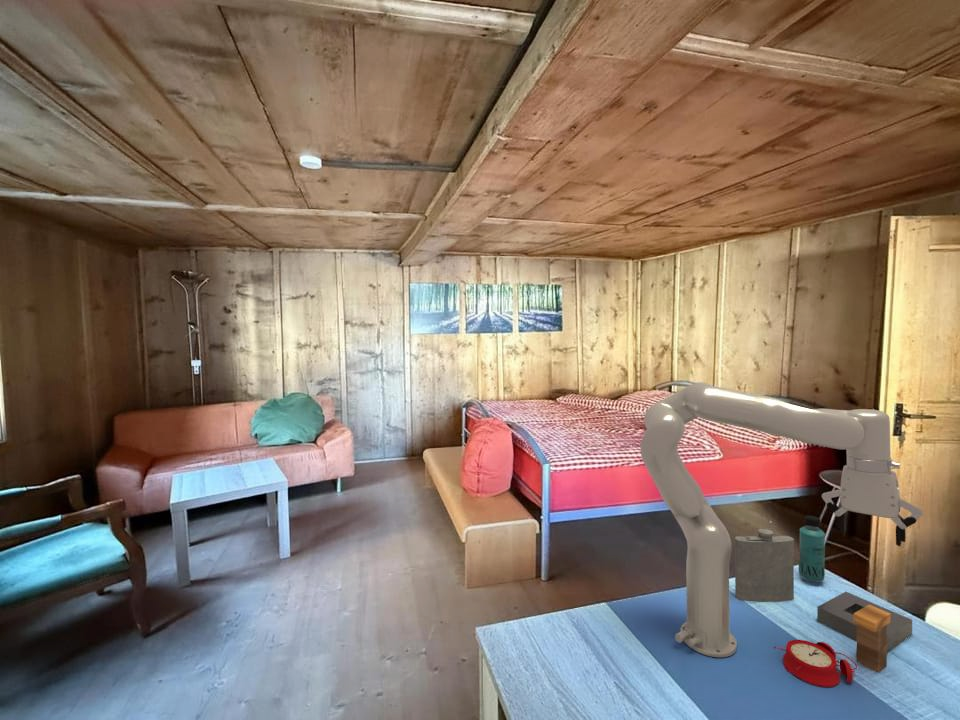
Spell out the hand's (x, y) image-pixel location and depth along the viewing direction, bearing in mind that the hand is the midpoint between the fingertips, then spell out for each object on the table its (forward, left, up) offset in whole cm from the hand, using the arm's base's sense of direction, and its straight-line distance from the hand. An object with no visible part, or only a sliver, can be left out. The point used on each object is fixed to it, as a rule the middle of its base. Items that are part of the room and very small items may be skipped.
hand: (870, 537), depth 101 cm
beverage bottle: (+24, +24, -29) cm, 45 cm away
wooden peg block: (-1, -1, -29) cm, 29 cm away
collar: (+12, +6, -29) cm, 32 cm away
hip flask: (+3, +26, -29) cm, 39 cm away
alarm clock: (-13, +4, -30) cm, 33 cm away
